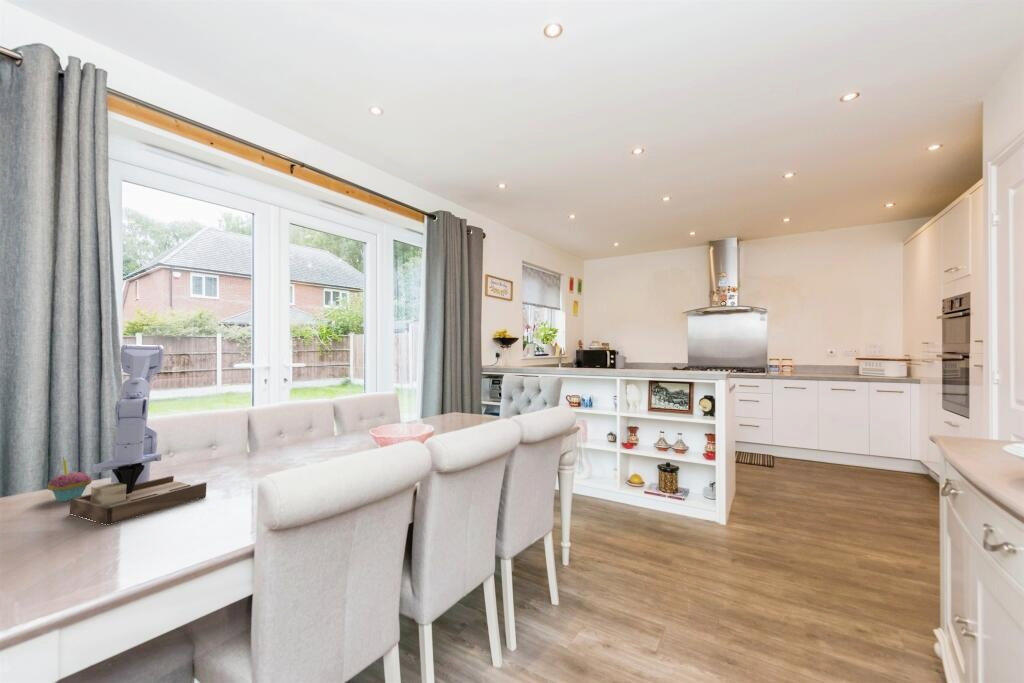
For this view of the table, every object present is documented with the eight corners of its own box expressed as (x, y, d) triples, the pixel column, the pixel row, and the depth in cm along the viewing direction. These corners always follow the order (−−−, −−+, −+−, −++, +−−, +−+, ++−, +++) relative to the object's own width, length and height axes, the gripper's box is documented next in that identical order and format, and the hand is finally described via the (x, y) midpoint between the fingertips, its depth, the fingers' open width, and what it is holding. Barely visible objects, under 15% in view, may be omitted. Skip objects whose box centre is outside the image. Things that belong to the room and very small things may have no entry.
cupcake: (67, 504, 113) (69, 459, 113) (36, 503, 113) (39, 458, 113) (99, 494, 121) (101, 452, 122) (70, 493, 122) (73, 451, 122)
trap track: (69, 514, 106) (70, 498, 106) (170, 488, 128) (171, 475, 128) (106, 525, 101) (107, 508, 101) (205, 496, 122) (206, 482, 122)
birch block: (90, 502, 108) (91, 487, 108) (114, 496, 113) (115, 481, 113) (101, 505, 106) (102, 489, 106) (125, 499, 111) (126, 484, 111)
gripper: (104, 449, 106) (101, 503, 105) (169, 439, 119) (166, 487, 119) (88, 446, 108) (85, 499, 108) (153, 437, 122) (150, 484, 121)
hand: (126, 493), depth 113 cm, fingers closed
